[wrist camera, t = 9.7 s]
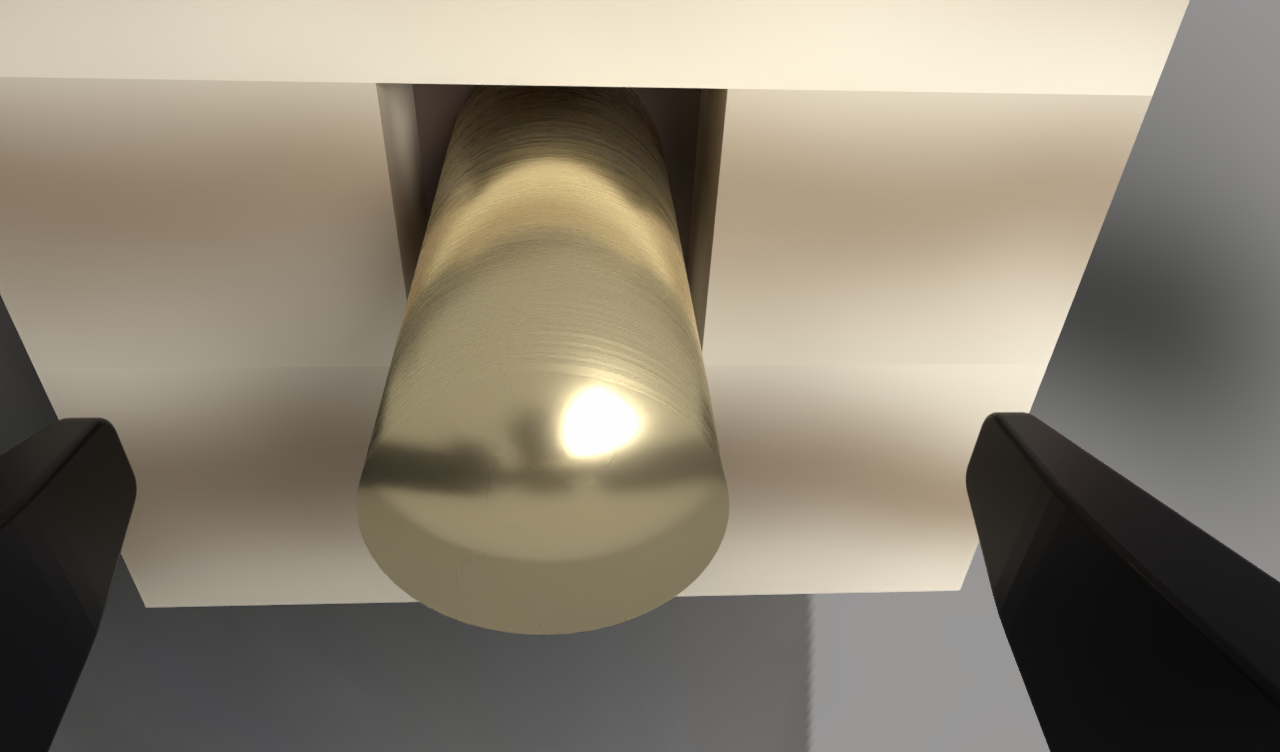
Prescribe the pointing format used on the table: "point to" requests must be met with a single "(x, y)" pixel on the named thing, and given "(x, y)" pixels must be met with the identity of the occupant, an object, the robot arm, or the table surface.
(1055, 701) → the robot arm
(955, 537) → the jig plate
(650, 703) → the table surface
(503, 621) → the brass pin
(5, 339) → the table surface
